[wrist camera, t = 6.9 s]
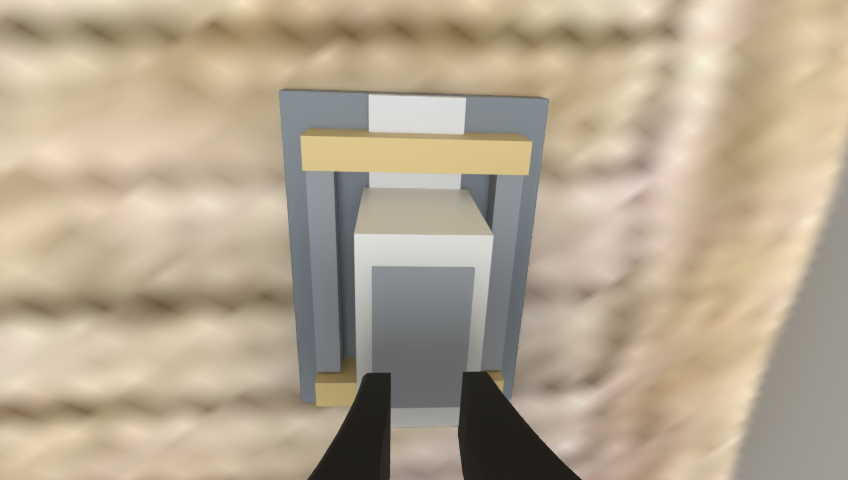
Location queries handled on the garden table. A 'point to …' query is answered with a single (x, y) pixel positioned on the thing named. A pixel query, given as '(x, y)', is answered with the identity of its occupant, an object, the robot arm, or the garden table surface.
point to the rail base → (402, 168)
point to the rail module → (421, 297)
